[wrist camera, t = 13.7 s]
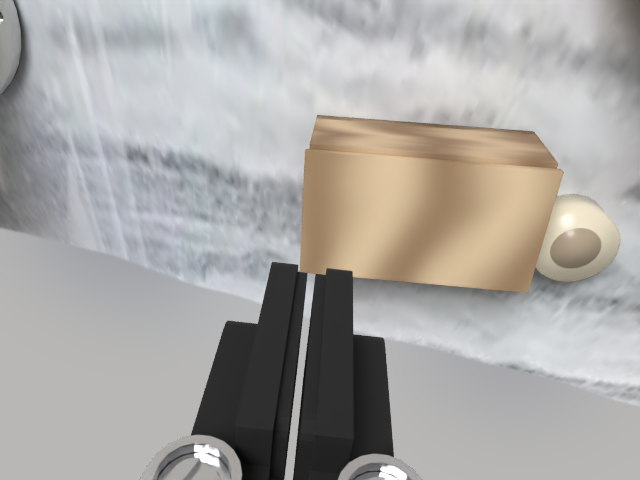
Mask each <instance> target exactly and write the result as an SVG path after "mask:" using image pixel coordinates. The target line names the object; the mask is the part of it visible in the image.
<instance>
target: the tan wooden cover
mask: <svg viewBox="0 0 640 480" xmlns="http://www.w3.org/2000/svg"><path fill="white" fill-rule="evenodd" d="M563 173H564V172H563V171H562V170H561V169H553V168H541V167H528V166H516V165H503V164H490V163H478V162H465V161H452V160H440V159H427V158H414V157H402V156H389V155H376V154H364V153H351V152H338V151H326V150H313V149H306V150H305V165H304V188H303V210H302V233H301V256H300V272H304V273H314V274H325V275H326V269H327V268H331V269H340V270H349V271H352V272H353V277H358V278H369V279H380V280H391V281H402V282H414V283H425V284H436V285H447V286H458V287H469V288H480V289H491V290H502V291H513V292H525V293H528V291H529V288H530V285H531V281H532V278H533V274H534V271H535V268H536V264H537V261H538V257H539V254H540V251H541V247H542V244H543V241H544V237H545V234H546V230H547V227H548V224H549V220H550V217H551V213H552V210H553V207H554V203H555V200H556V197H557V193H558V190H559V186H560V183H561V180H562V176H563Z"/></svg>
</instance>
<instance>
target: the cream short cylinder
mask: <svg viewBox="0 0 640 480" xmlns="http://www.w3.org/2000/svg"><path fill="white" fill-rule="evenodd" d="M619 246H620V234H619V230H618V229H617V227H616V225H615V224H614V223H613V222H612V220H611V219H610V218H609V216H608V215H607V214H606V213H605V211H604V210H603V209H602V208H601V206H600V205H599V204H598V203H597V202H596V201H594V200H593V199H591V198H589V197H586V196H583V195H575V194H569V195H562V196H558V197H556V200H555V203H554V207H553V210H552V213H551V217H550V220H549V224H548V227H547V230H546V234H545V237H544V241H543V244H542V247H541V251H540V254H539V257H538V261H537V264H536V269H537V270H538V271H539V272H540V273H541V274H543V275H544V276H546V277H548V278H550V279H553V280H556V281H565V282H570V281H578V280H582V279H586V278H589V277H591V276H593V275H595V274H597V273H599V272H600V271H602V270H603V269H604V268H606V267H607V266H608V265H609V264H610V263H611V262H612V260H613V259H614V258H615V256H616V254H617V252H618V250H619Z"/></svg>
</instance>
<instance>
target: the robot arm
mask: <svg viewBox="0 0 640 480" xmlns="http://www.w3.org/2000/svg"><path fill="white" fill-rule="evenodd" d="M20 54H21V29H20V25H19V20H18V15H17V10H16V7H15V5H14V2H13V0H0V94H1V93H3V92H4V90H5V89H6V88H7V86H8V85H9V84H10V83H11V81H12V80H13V77H14V75H15V73H16V70H17V68H18V65H19V59H20ZM306 282H307V273H304V272H298V265H295V264H286V263H277V262H272V265H271V269H270V273H269V278H268V282H267V286H266V291H265V295H264V300H263V304H262V308H261V313H260V317H259V322H258V324H252V323H243V322H235V321H227V322H226V324H225V327H224V329H223V333H222V336H221V339H220V342H219V346H218V349H217V352H216V355H215V359H214V362H213V365H212V369H211V372H210V375H209V378H208V381H207V385H206V388H205V391H204V395H203V398H202V401H201V405H200V408H199V411H198V414H197V417H196V421H195V424H194V427H193V430H192V434H191V436H186V437H182V438H179V439H177V440H175V441H173V442H170V443H168V444H167V445H166V446H165V447H163V448H162V449H161V450H160V451H158V452H157V453H156V454H155V455H154V457H153V458H152V460H151V461H150V462H149V464H148V465H147V467H146V469H145V470H144V472H143V474H142V476H141V478H140V480H284V476H285V468H286V459H287V451H288V442H289V434H290V425H291V417H292V409H293V399H294V391H295V383H296V375H297V366H298V365H297V364H298V356H299V347H300V338H301V329H302V319H303V310H304V301H305V291H306ZM293 480H422V479H421V478H420V476H419V475H418V474H417V473H416V471H415V470H414V469H413V468H411V467H410V466H408V465H407V464H406V463H404V462H403V461H401V460H399V459H396V458H394V453H393V440H392V428H391V415H390V403H389V390H388V377H387V364H386V353H385V342H384V339H383V338H380V337H371V336H362V335H353V272H352V271H349V270H340V269H331V268H327V269H326V275H322V274H316V276H315V284H314V293H313V301H312V309H311V318H310V327H309V335H308V343H307V352H306V360H305V368H304V378H303V387H302V397H301V407H300V417H299V427H298V436H297V446H296V456H295V466H294V476H293Z"/></svg>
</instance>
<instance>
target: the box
mask: <svg viewBox="0 0 640 480" xmlns="http://www.w3.org/2000/svg"><path fill="white" fill-rule="evenodd" d="M310 149H313V150H326V151H338V152H351V153H364V154H376V155H389V156H402V157H414V158H427V159H440V160H452V161H465V162H478V163H490V164H503V165H516V166H528V167H541V168H553V169H557V166H558V162H557V161H556V160H555V159H554V157H553V156H552V155H551V153H550V152H549V151H548V149H547V148H546V147H545V145H544V144H543V143H542V141H541V140H540V139H539V137H538V136H537V135H536V134H535V132H532V131H519V130H505V129H492V128H479V127H466V126H453V125H440V124H426V123H413V122H400V121H387V120H374V119H361V118H348V117H334V116H321V115H317V119H316V123H315V126H314V130H313V134H312V138H311V141H310Z"/></svg>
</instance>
